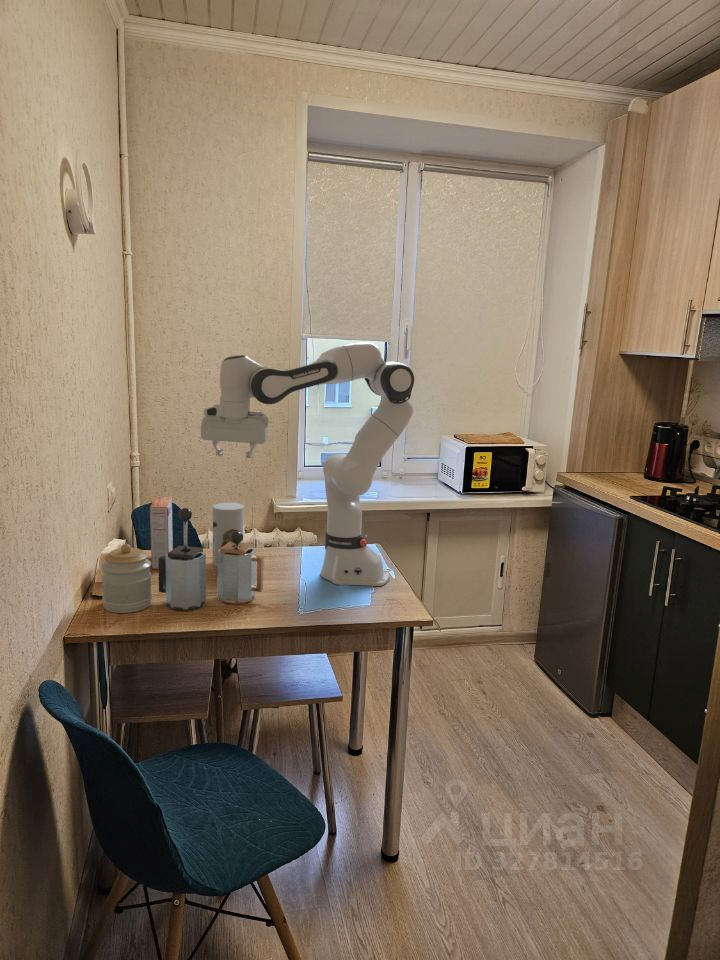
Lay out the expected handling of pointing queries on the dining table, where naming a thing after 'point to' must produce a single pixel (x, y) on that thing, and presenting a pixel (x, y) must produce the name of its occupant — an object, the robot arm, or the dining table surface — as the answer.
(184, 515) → the black plunger
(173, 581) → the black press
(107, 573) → the jar
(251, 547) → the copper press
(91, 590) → the dining table surface
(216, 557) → the container
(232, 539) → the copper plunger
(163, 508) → the cracker box
